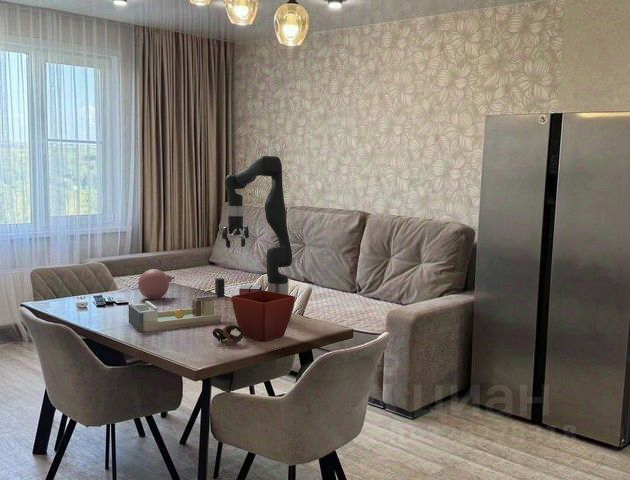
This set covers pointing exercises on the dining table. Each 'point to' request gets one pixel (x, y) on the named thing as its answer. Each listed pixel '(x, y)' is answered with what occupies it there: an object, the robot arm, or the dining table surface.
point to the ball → (179, 313)
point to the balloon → (154, 283)
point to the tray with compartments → (169, 317)
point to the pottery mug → (228, 334)
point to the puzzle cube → (249, 289)
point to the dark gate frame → (208, 297)
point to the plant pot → (263, 314)
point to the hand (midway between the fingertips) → (235, 247)
